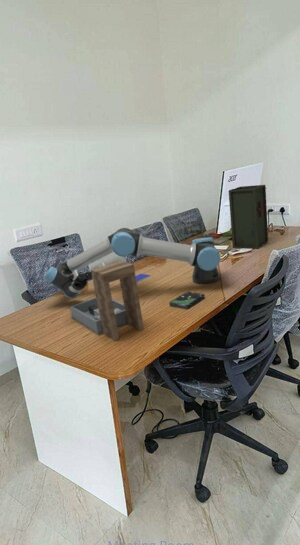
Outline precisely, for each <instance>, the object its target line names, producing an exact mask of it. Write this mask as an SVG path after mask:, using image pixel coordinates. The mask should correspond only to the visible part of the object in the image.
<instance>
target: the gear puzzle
mask: <svg viewBox="0 0 300 545" xmlns="http://www.w3.org/2000/svg"><path fill="white" fill-rule="evenodd" d="M208 237H211V238H213V240H214V241H215V240H219V241H223V240H224V241H225V240H228V239H230V238H231V239H232V233H231V232H225V233H223V234H217V233H216V232H209V233H204V235H203V236H202V237H201V238H208Z"/></svg>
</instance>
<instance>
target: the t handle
mask: <svg viewBox="0 0 300 545" xmlns="http://www.w3.org/2000/svg"><path fill="white" fill-rule="evenodd" d="M88 308H89V313H90V314H92V315H93V316H95V317H94V319H95V320H99V319H100V315H99V309H98V307H97V306H95V305H93V306H90V307H88ZM120 311H122V310H120V309H118V308H116V309H114V313H117V312H120Z"/></svg>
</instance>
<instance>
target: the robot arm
mask: <svg viewBox="0 0 300 545" xmlns="http://www.w3.org/2000/svg"><path fill="white" fill-rule="evenodd" d="M113 253H114V254H115V255H117V256H118V257H122V258H125V257H136V258H137V257H138V256H139V257H140V256H141V255H143V256H150V257H155V258H161V259H167V260H172V261H178V262H185V263H188V265H189V266H190V267H193V271H192V275H191V276H192V277H191V278H192V282H193V283H195V284H203V285H205V284H212V283H216V282H218V281H220V280H221V273H220V271H219V268H218V266H219V264H220V262H221V254H220V252H219V250H218V249H217V248H216V246H215V239H214V240H213V238H211V237H208V238H202V237H200V238H195V239H192V241H191V244H184V243H179V242H174V241H167V240H161V239H156V238H150V237H144V236H143V235H142V233H138V232H134V231H133V230H132V229H130V228H127V227H122V228H121V227H120V228H118V229H117V230H116V231H115V232H113V233H111V234H109V235H108V236H107V238H106V239H105V240H102V241H101V242H99V243H97V244H96V245H93V246H91V247H90V248H88V249H86V250H83V251H82V252H80V253H79V254H77V255H74V257H71V258H70V259H67V260H66V261H64V262H61V263H58V264H57V266H56V267H55V266H50V268H49V269H48V270H47V271H46V273H45V274H44V275H43V278H44V280H46V281H47V282H48V283H50V284H52V285H53V286H55V287H56V288H57V289H60V291H62V292H63V295H64V296H65V297H66V298H68V299H75V298H76V297H77V296H79V294H81V292H82V291H83V289H85V288H86V287H87V285H88V281H90V280H91V279H92V280H93V278H92V273H91V271H89V272H88V271H87V272H85V273H83V274H82V273H78V271H79V270H82V269H83V268H85V267H87V266H89V265H91V264H93V263H95V262H97V261H99V260H101V259H103V258H105V257H107V256H109V255H110V254H113ZM103 266H106V264H105V263H104V261H102V262H101V263H100V264H99V265H97V268H100V267H103Z"/></svg>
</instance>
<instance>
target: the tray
mask: <svg viewBox="0 0 300 545" xmlns="http://www.w3.org/2000/svg"><path fill="white" fill-rule="evenodd" d="M112 302H113V307H114V309H116V308H118V309H120V310H122V311H120V312H117V313H115V318H116V324H117V328H119V327H121V326H124V325H126V324H127V319H126V314H125V308H124V302H123V303H122V302H120V301H118V300H115V299H114V298H112ZM93 305H95V306H97V307H98V304H97V299H96V297H94V298H90V299H87V300H84V301H82V302H79V303H76V304H74V305H73V304H72V305H71V306H69V309H70V314H71V317H72V319H73V320H74V321H76V322H77V323H79V324H81V325H82V326H84V327H86V328H87V329H88V330H90V331H92V332H93V333H95V334H96V335H98V336H100V335H102V334H103V330H102V325H101V320H100V319H99V320H95V319H94V317H95V316H93V315H92V314H90V313H89V308H88V307H90V306H93Z"/></svg>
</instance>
